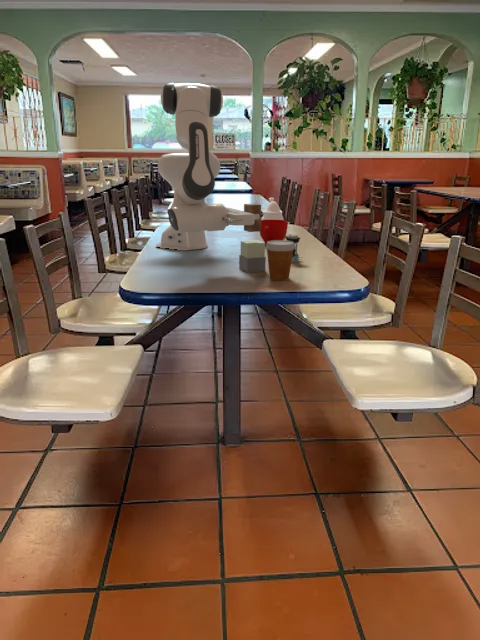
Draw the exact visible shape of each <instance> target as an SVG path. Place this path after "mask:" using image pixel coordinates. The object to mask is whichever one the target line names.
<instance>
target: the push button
mask: <svg viewBox="0 0 480 640" xmlns="http://www.w3.org/2000/svg"><path fill="white" fill-rule="evenodd" d="M300 239H301V237H299V235H298V234H288V236H285V240H286V241H291V242H294V246H295V248H294V250H293V255H292V261H291V263H292V262H294V263H298V262H299V261H301V258H302V259H303V257H302V256H299V253H298V243H300Z"/></svg>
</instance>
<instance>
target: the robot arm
mask: <svg viewBox="0 0 480 640" xmlns="http://www.w3.org/2000/svg"><path fill="white" fill-rule="evenodd" d="M223 97H224V96H223V93H222V91H221V89H220V88H219V87H218V86H215V85H212V84H210V85H208V84H203V83H197V82H196V83H195V82H192V83H191V82H180V83H179V82H177V83H176V82H169V83H168V82H167V83H166V84H164V86H163V88H162V91H161V93H160V103H161V104H160V105H161V106H162V109H163V111H164V112H165V113H166V114H169V115H172V116H175V120H174V121H175V133H176V136H175V137H176V140H177V143H178V144H179V145H180V147H182V148H184V149H185V150H187V151H188V152H169V153H165V154H162V155H161V156H160V158H159V160H158V162H157V170H158V173H159V175H160V177H162V178H163V179H164V180H165V181H166V182H167V183H169V185H170V186H171V187H172V189H173V191H174V194H173V201H172V203H171V205H170V208H169V209H168V211H167V212H168V213H167V214H168V221H169V223H170V225H169V226H168V227H167V228H166V229H165V230H164V231H163V232H162V233H161V237H160V242H158V243H156V244H155V247H160V248H159V249H165V248H169V249H168V250H174V249H177V250H176V251H191V250H202V249H206V248H208V247H209V245H208V241H207V237H206V232H217V231H218V232H219V231H225V230H226V227H228V226H230V225H231V226H244V225H253V224H254V220H256V219H259V214H252V213H248V212H244V210H239V209H236V208H232V207H225V204H223V203H206V201H205V199H206V198H207V197H208V196H210V195H211V194H212V192H213V191H214V189H215V187H216V186H215V185H216V180H215V179H216V178H217V177H218V176H219V174H220V171H221V163H220V159H219V158H218V157H217V156H216V154H214V153H213V152H212V151H211V150H210V149H209V135H208V133H209V118H214V117H217V116H219V114H221V111H222V108H223V105H224V98H223ZM205 231H206V232H205Z"/></svg>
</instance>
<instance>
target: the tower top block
mask: <svg viewBox="0 0 480 640" xmlns="http://www.w3.org/2000/svg"><path fill="white" fill-rule="evenodd" d="M240 255H242V256H244V257H246V258H259V257H266V243H265V242H264V241H261V240H259V239H249V240H247V239H246V240H240Z"/></svg>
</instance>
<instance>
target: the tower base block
mask: <svg viewBox="0 0 480 640" xmlns="http://www.w3.org/2000/svg"><path fill="white" fill-rule="evenodd" d="M238 257H239V258H238V259H239V260H238V264H239V265H238V268H239V269H240V270H241V271H244V272H246V273H254V272H255V273H256V272H258V273H259V272H266V261H267V260H266V258H267V257H266V256H265V257H259V258H246V257H244V256H242V255H241V254H239V255H238Z"/></svg>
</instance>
